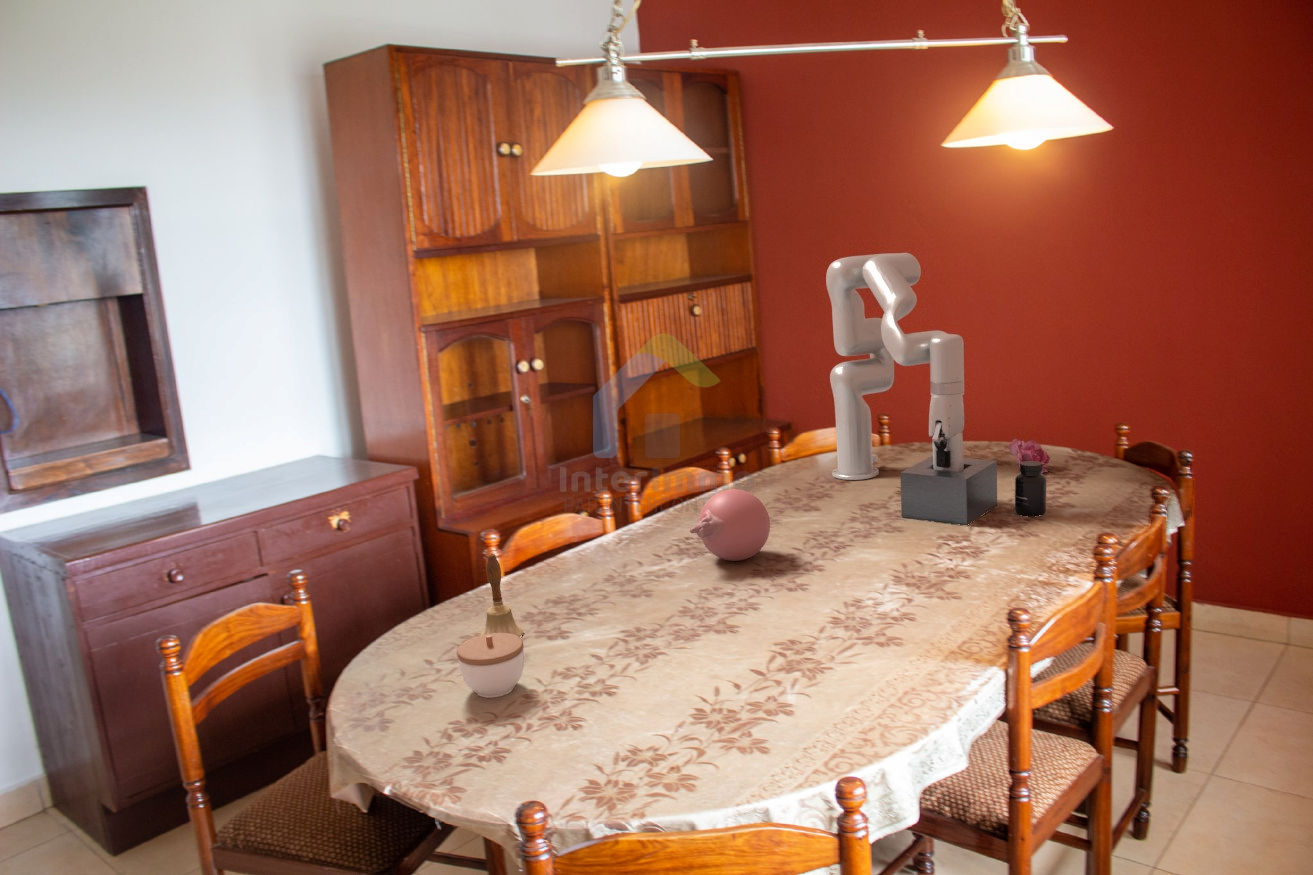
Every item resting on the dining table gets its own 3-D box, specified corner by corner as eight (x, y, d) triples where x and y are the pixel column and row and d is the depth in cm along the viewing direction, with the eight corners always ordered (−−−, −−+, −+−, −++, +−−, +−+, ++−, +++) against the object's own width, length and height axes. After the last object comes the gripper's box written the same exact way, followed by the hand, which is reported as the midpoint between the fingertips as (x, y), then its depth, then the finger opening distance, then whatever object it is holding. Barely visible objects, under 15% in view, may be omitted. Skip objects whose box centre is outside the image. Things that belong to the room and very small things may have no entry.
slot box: (934, 498, 256) (933, 455, 254) (997, 505, 246) (996, 460, 244) (901, 517, 242) (900, 472, 240) (966, 526, 232) (966, 479, 230)
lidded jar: (490, 710, 161) (484, 655, 159) (448, 694, 168) (441, 640, 166) (541, 684, 169) (535, 631, 167) (499, 669, 176) (493, 618, 174)
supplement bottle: (1013, 517, 236) (1013, 466, 234) (1015, 508, 242) (1015, 459, 240) (1045, 518, 234) (1046, 467, 231) (1046, 509, 240) (1046, 459, 237)
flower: (1053, 482, 273) (1060, 457, 266) (1016, 488, 273) (1022, 463, 266) (1038, 451, 281) (1044, 426, 274) (1002, 456, 281) (1007, 432, 274)
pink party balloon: (669, 565, 222) (664, 496, 219) (740, 543, 233) (735, 477, 230) (714, 582, 210) (709, 509, 207) (786, 557, 221) (783, 488, 218)
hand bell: (527, 640, 188) (518, 557, 185) (482, 648, 186) (472, 564, 182) (520, 624, 196) (511, 544, 192) (476, 632, 194) (466, 551, 190)
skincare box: (964, 481, 243) (963, 432, 240) (958, 486, 240) (957, 436, 237) (939, 479, 246) (938, 430, 244) (933, 483, 243) (931, 434, 240)
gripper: (947, 381, 247) (948, 454, 251) (916, 394, 234) (917, 471, 238) (977, 382, 242) (978, 457, 246) (947, 395, 229) (948, 474, 233)
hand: (948, 463), depth 242 cm, fingers open, 4 cm apart
